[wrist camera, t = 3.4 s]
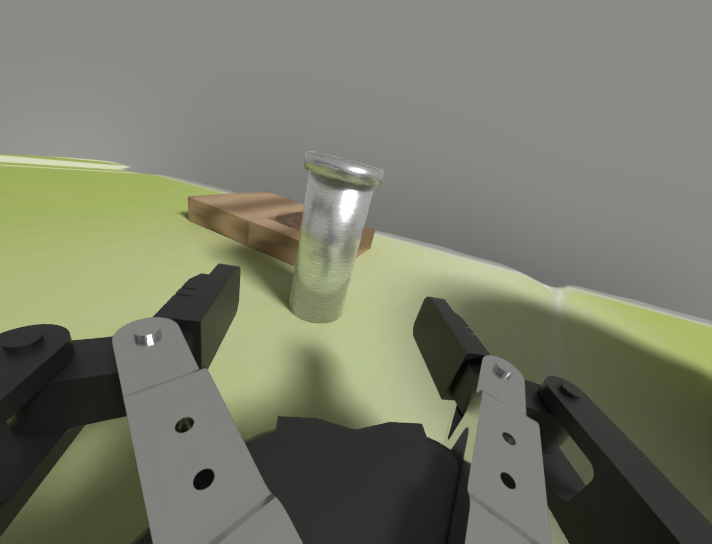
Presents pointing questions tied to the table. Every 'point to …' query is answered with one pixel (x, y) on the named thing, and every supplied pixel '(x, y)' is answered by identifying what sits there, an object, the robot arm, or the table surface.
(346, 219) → the silver metal peg
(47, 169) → the table surface
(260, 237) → the block
